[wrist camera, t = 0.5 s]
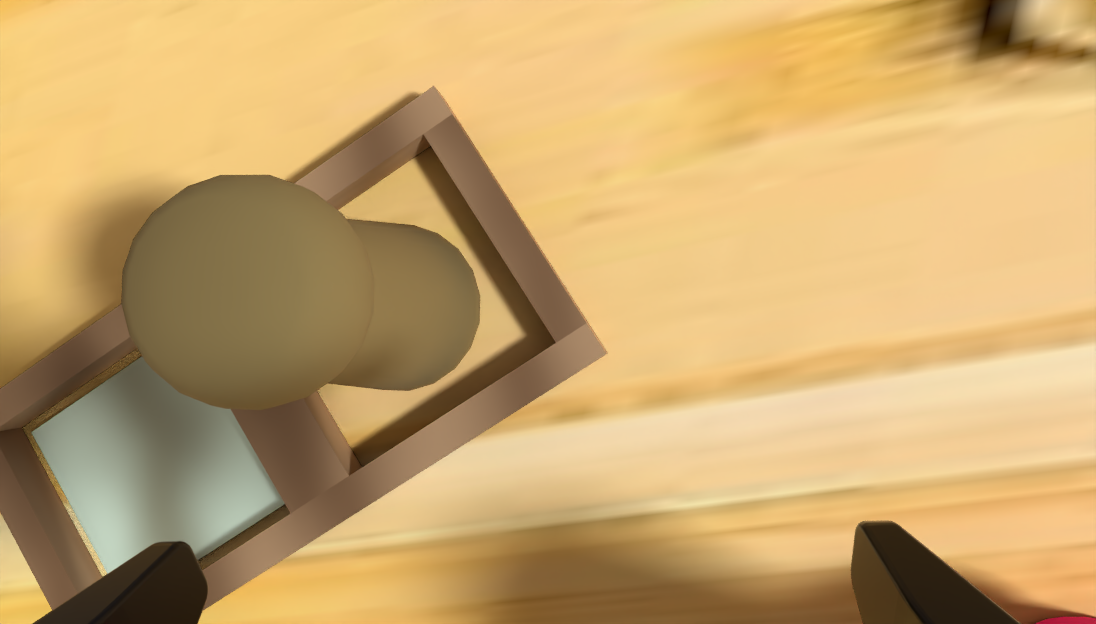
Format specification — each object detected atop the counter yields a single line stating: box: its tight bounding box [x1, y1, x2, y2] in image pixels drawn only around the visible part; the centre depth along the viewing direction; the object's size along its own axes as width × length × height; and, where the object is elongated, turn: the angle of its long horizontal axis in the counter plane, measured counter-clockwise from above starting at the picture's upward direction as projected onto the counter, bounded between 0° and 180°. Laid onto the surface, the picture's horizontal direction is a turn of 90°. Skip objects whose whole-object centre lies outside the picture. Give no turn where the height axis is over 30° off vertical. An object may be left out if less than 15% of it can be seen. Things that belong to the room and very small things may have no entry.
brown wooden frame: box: [0, 86, 607, 610], centre depth 24 cm, size 22×11×1 cm, turn 123°
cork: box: [121, 175, 480, 410], centre depth 18 cm, size 6×6×11 cm
